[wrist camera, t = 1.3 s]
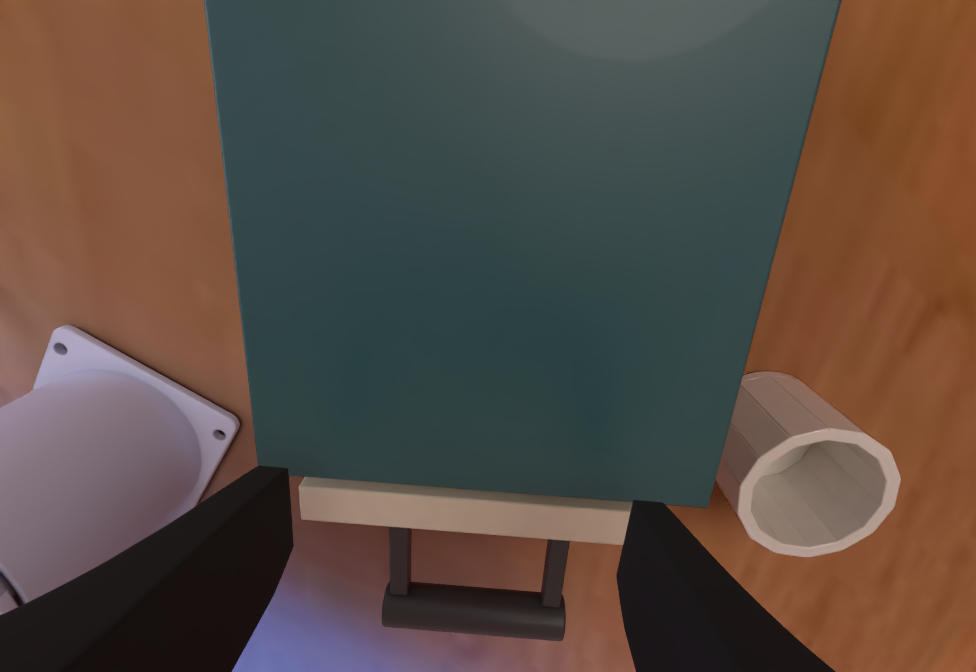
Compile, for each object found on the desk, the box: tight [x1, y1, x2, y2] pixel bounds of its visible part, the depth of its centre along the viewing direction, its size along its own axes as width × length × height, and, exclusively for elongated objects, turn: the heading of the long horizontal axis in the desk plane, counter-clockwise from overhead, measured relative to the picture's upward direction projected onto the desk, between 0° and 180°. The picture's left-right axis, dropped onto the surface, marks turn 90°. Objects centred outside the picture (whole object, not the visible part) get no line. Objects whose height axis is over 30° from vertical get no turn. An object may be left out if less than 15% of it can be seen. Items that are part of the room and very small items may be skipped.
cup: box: [715, 371, 901, 557], centre depth 19 cm, size 5×5×4 cm
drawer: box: [299, 477, 633, 641], centre depth 16 cm, size 17×10×6 cm, turn 176°
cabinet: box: [204, 0, 841, 508], centre depth 14 cm, size 14×12×8 cm
